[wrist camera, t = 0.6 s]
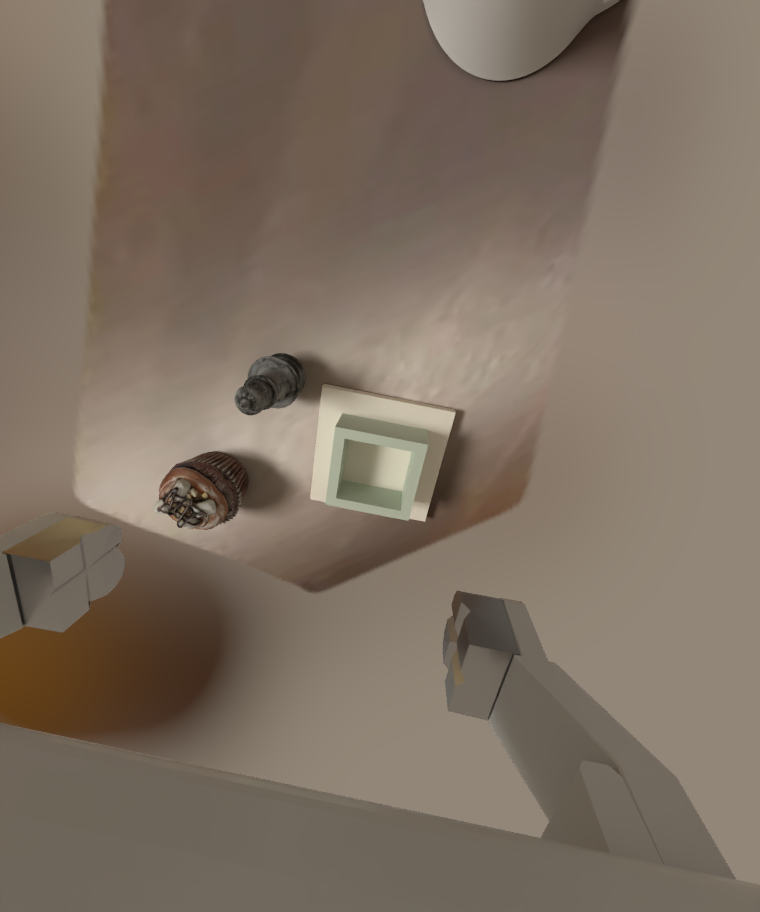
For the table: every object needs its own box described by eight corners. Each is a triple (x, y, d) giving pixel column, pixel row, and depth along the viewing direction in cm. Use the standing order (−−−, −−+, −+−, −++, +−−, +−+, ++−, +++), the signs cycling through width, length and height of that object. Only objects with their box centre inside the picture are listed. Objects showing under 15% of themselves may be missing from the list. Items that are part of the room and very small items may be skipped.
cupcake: (177, 481, 52) (127, 523, 43) (203, 431, 48) (155, 466, 39) (236, 516, 54) (201, 564, 45) (266, 471, 50) (234, 513, 41)
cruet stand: (324, 383, 44) (312, 397, 39) (454, 409, 44) (460, 426, 39) (312, 494, 51) (300, 518, 46) (424, 516, 51) (425, 542, 46)
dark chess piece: (310, 356, 43) (275, 382, 32) (305, 403, 45) (270, 442, 34) (261, 345, 42) (208, 368, 32) (258, 393, 45) (209, 429, 34)
